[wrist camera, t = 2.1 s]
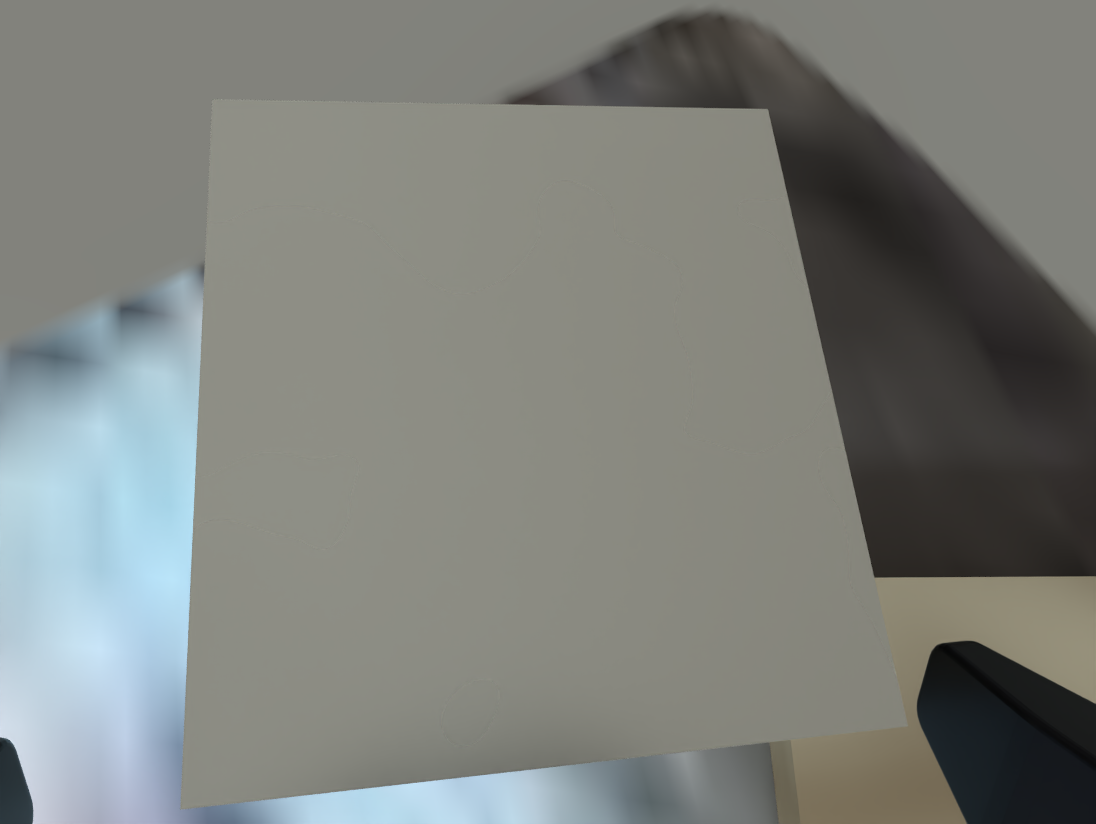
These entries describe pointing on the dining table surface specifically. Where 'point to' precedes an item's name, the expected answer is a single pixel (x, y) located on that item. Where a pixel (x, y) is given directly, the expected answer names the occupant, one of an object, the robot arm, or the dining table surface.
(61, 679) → the dining table surface
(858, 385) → the dining table surface
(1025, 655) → the stand
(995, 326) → the dining table surface
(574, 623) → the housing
